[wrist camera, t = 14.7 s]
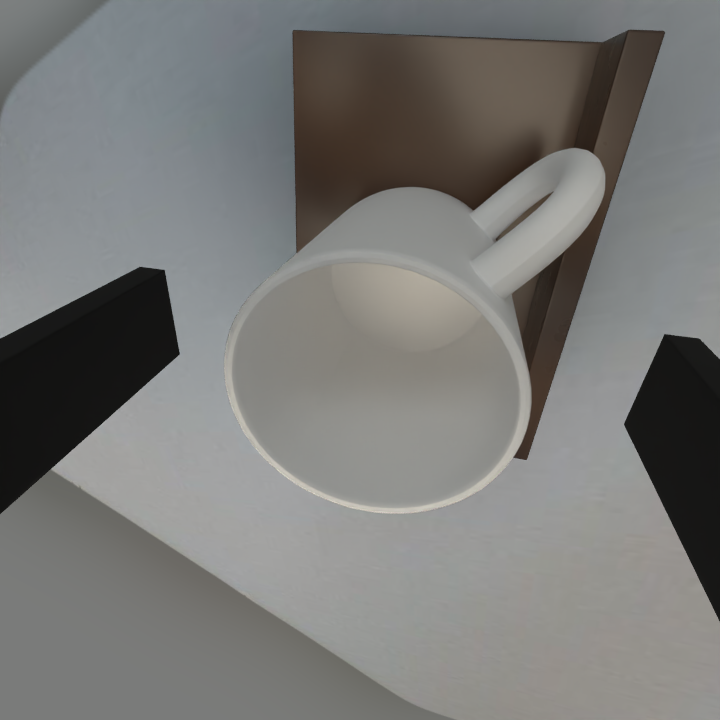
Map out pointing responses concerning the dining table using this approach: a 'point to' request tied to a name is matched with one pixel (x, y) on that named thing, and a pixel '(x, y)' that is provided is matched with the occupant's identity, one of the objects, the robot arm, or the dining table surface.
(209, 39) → the dining table surface
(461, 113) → the shelf
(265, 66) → the dining table surface
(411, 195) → the cup
